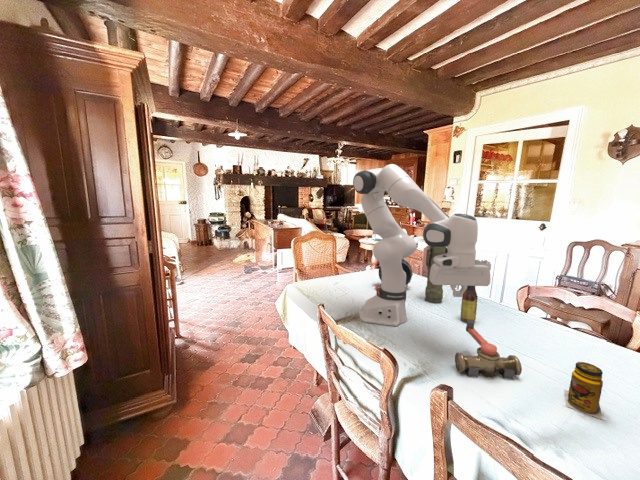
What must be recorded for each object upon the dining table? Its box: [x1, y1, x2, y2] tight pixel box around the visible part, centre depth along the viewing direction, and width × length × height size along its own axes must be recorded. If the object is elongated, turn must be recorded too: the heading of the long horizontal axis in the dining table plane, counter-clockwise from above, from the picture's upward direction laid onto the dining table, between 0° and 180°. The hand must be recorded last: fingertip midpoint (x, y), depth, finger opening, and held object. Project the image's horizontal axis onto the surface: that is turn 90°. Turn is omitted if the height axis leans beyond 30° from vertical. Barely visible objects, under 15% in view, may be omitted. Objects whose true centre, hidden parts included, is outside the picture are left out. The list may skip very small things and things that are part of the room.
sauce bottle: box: [460, 286, 479, 323], centre depth 123 cm, size 6×6×20 cm
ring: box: [378, 258, 414, 286], centre depth 166 cm, size 11×20×20 cm, turn 89°
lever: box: [465, 320, 498, 356], centre depth 93 cm, size 4×16×4 cm, turn 175°
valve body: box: [454, 346, 523, 380], centre depth 88 cm, size 18×6×7 cm, turn 85°
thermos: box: [424, 246, 448, 305], centre depth 145 cm, size 9×12×35 cm
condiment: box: [564, 361, 604, 420], centre depth 74 cm, size 7×8×12 cm
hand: (457, 296), depth 98 cm, fingers closed
